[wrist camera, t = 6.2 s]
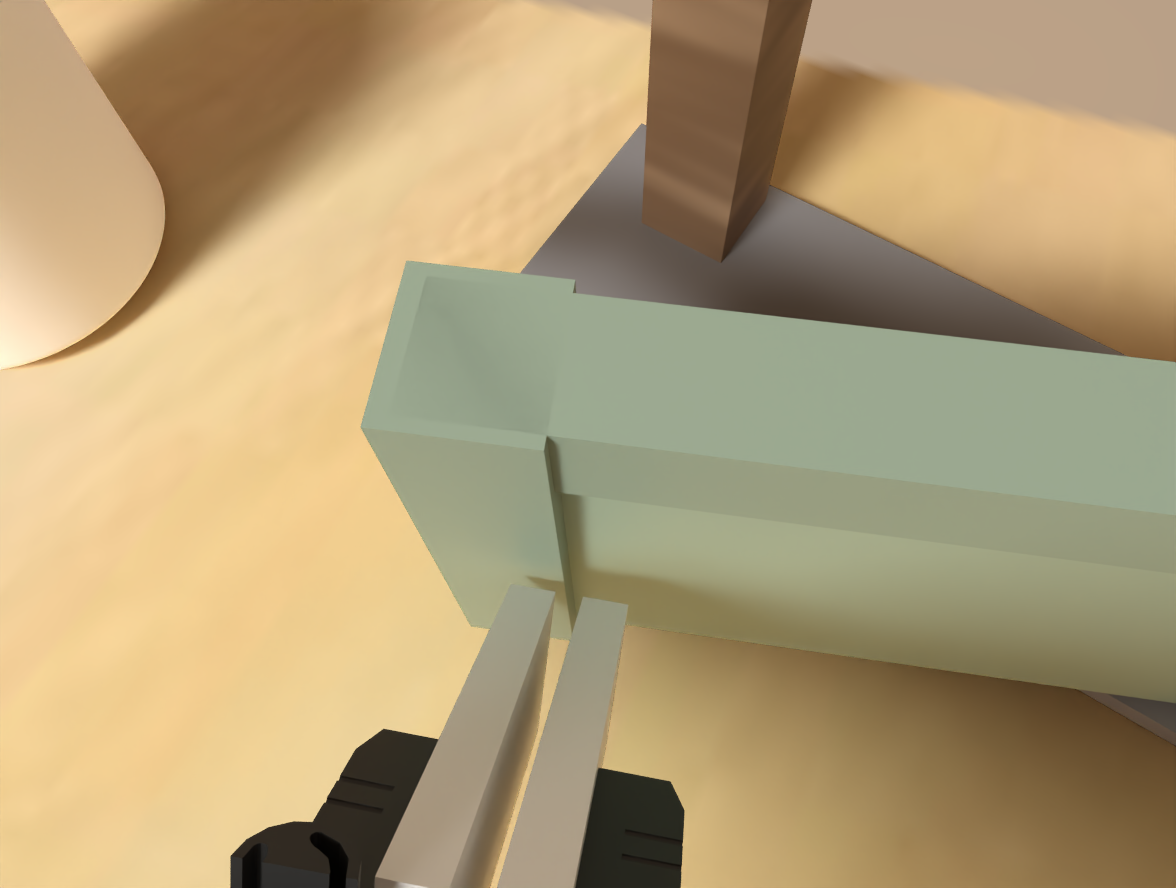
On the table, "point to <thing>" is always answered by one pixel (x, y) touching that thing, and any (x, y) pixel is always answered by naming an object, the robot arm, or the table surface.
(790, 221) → the gate frame
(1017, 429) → the gate
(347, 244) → the table surface
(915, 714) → the table surface
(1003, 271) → the table surface
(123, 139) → the white cylinder
